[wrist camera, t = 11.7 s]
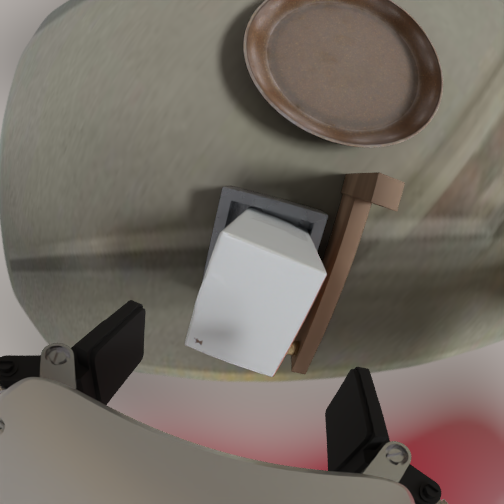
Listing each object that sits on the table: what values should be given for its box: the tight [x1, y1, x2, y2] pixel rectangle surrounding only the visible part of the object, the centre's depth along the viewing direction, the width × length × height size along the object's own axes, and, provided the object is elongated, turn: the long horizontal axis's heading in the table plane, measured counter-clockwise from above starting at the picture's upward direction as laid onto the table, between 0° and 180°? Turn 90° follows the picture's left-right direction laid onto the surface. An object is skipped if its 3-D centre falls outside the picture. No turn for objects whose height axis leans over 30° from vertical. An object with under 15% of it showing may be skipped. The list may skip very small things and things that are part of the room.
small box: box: [185, 207, 327, 377], centre depth 21 cm, size 8×6×13 cm
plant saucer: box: [243, 0, 443, 148], centre depth 20 cm, size 21×21×3 cm
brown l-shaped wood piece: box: [287, 173, 405, 374], centre depth 23 cm, size 3×20×10 cm, turn 166°
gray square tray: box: [202, 186, 328, 282], centre depth 27 cm, size 10×12×4 cm
